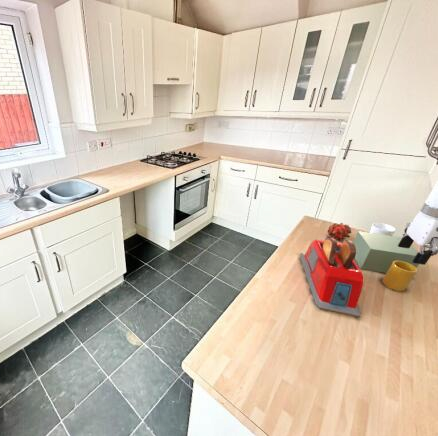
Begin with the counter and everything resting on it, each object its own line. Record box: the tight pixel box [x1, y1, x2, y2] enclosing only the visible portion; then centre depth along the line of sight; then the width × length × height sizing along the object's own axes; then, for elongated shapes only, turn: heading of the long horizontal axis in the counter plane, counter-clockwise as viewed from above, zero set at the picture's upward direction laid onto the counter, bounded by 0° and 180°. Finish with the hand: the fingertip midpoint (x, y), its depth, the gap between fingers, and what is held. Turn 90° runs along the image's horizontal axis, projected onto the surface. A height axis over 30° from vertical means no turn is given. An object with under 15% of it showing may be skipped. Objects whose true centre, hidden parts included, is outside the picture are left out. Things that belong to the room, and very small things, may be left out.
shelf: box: [352, 230, 420, 274], centre depth 100 cm, size 16×14×10 cm
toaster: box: [299, 237, 364, 318], centre depth 89 cm, size 32×13×19 cm, turn 161°
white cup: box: [368, 222, 397, 236], centre depth 111 cm, size 8×8×10 cm
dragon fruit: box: [327, 222, 352, 241], centre depth 118 cm, size 8×8×12 cm
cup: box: [381, 261, 418, 292], centre depth 89 cm, size 6×6×9 cm
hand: (410, 254), depth 85 cm, fingers open, 9 cm apart
